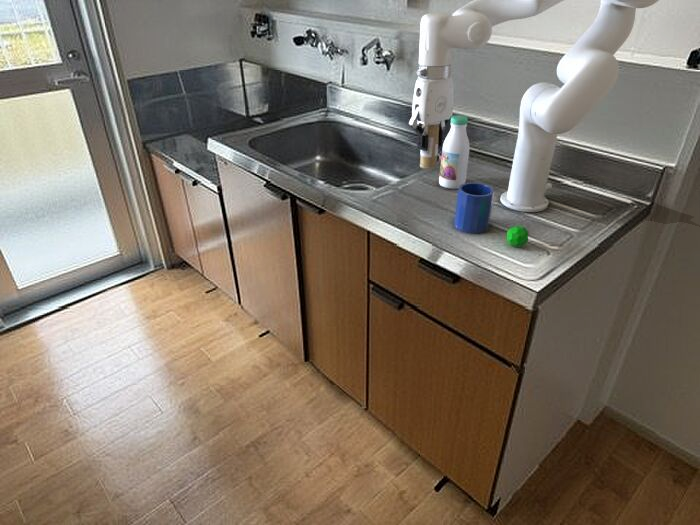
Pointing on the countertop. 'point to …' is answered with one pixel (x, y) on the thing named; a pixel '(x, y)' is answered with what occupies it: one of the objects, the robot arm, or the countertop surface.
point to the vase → (473, 207)
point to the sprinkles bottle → (430, 148)
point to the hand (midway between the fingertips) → (429, 146)
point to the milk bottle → (455, 154)
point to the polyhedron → (517, 236)
